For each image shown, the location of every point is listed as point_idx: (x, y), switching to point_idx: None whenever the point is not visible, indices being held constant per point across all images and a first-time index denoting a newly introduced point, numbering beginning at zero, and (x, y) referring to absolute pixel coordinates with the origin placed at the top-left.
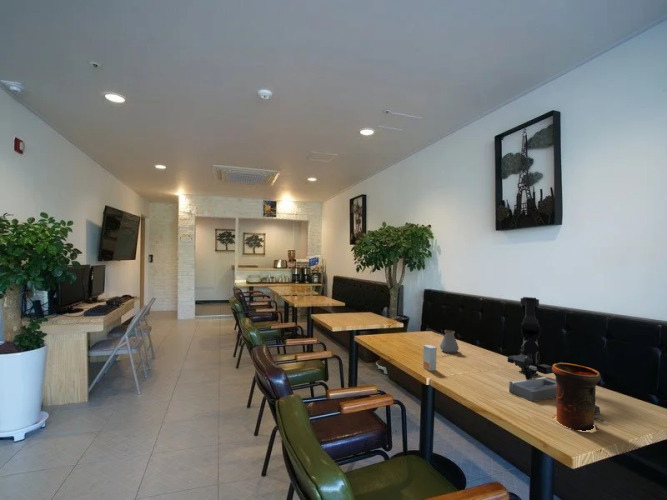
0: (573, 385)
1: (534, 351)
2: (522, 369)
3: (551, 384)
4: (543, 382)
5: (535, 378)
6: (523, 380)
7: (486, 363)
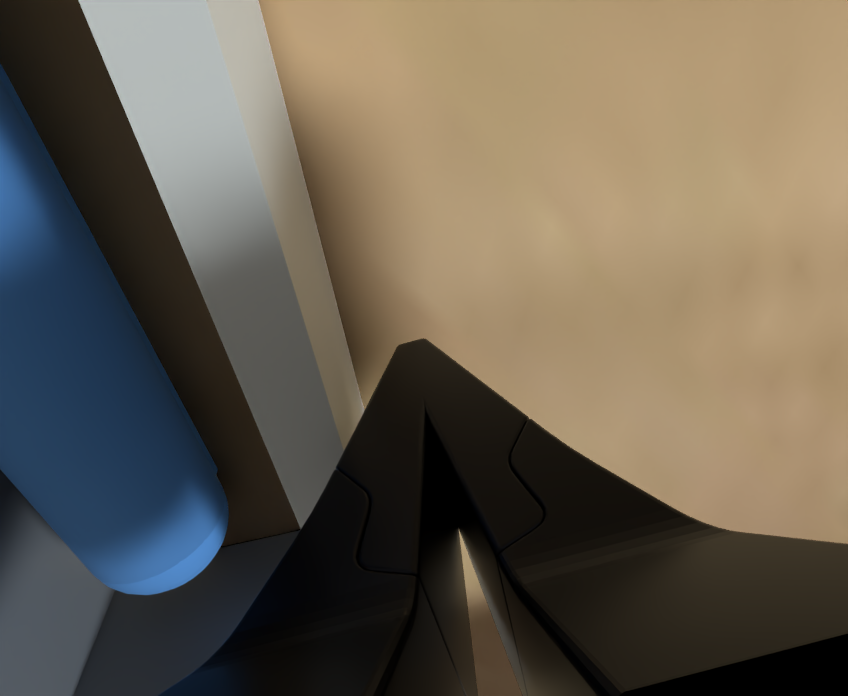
0: None
1: None
2: (747, 546)
3: (188, 658)
4: None
5: None
6: (191, 38)
7: None
